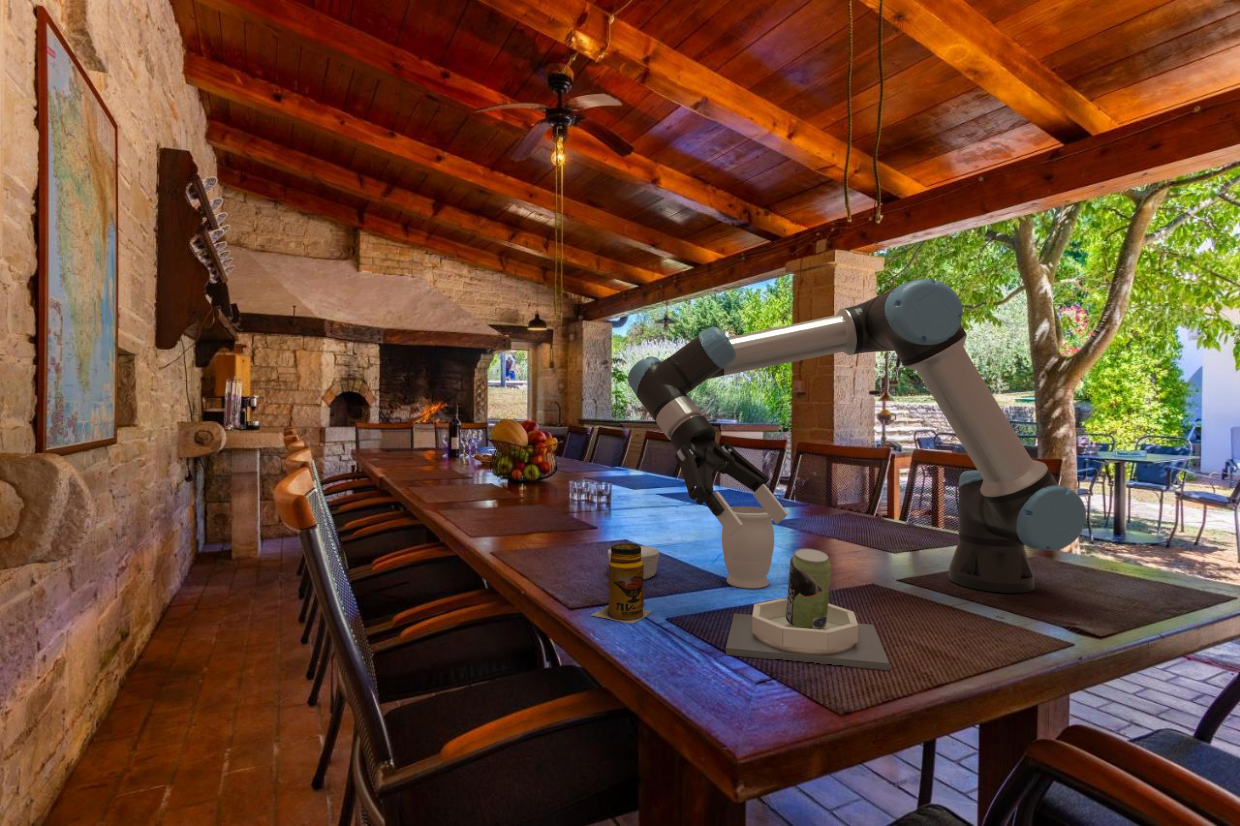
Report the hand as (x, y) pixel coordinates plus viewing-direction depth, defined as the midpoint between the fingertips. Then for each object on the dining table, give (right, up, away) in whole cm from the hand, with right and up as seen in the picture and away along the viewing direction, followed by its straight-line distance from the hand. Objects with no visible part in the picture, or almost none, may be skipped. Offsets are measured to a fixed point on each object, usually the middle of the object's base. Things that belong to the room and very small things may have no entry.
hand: (760, 524), depth 103 cm
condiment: (-22, -17, +8) cm, 29 cm away
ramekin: (-20, -17, +34) cm, 43 cm away
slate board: (+5, -17, -5) cm, 19 cm away
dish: (+5, -16, -5) cm, 18 cm away
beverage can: (+6, -15, -4) cm, 17 cm away
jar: (+3, -17, +27) cm, 32 cm away
